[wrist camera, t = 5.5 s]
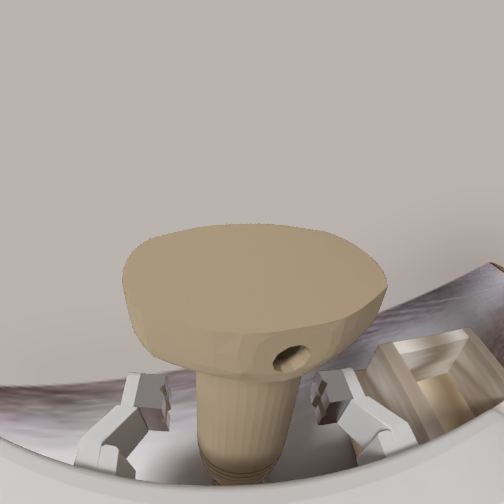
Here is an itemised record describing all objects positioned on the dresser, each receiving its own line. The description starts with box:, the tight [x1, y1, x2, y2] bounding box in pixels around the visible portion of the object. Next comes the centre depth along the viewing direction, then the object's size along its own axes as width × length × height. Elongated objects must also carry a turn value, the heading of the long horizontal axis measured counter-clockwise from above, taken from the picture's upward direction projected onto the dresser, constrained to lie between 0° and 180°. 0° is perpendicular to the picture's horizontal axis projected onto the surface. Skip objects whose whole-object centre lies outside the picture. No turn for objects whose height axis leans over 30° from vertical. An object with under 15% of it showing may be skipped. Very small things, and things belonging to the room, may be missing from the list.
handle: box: [122, 224, 388, 486], centre depth 10 cm, size 5×6×15 cm
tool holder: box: [349, 327, 504, 457], centre depth 15 cm, size 18×12×6 cm, turn 96°
